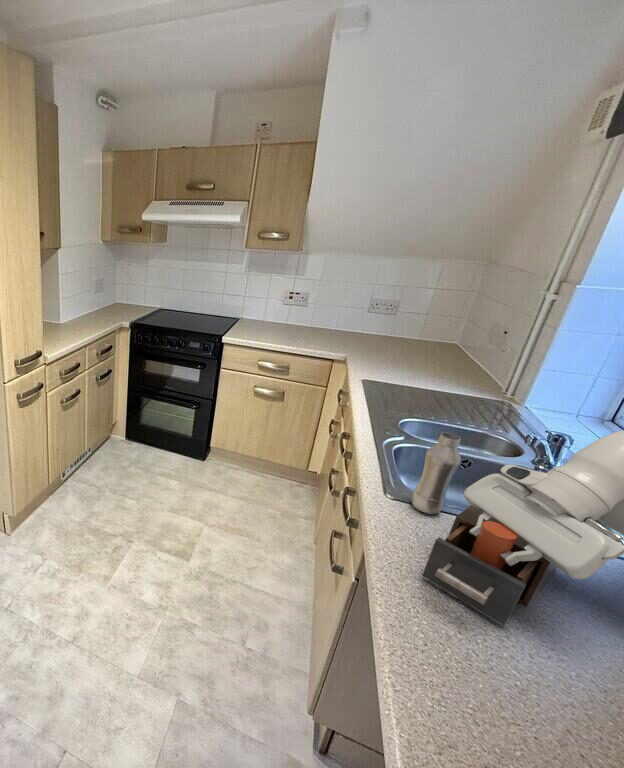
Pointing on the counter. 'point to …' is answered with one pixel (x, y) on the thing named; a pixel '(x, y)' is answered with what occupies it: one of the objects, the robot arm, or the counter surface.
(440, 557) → the drawer
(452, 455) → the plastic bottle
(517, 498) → the robot arm
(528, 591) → the cabinet
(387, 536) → the counter surface
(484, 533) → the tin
